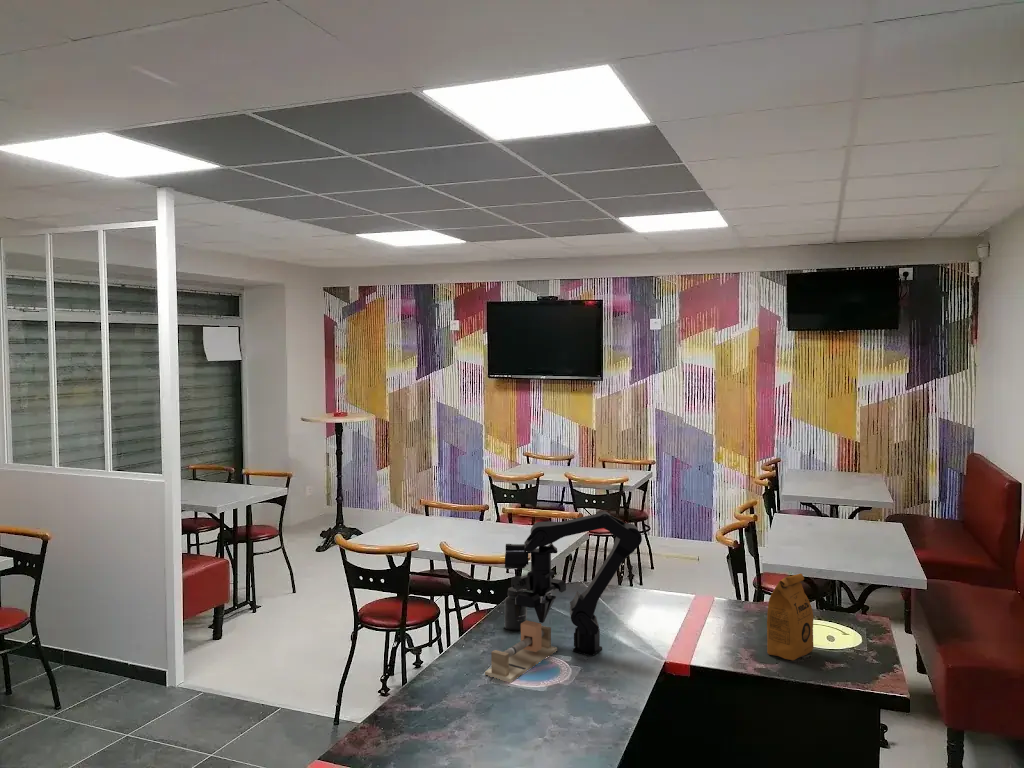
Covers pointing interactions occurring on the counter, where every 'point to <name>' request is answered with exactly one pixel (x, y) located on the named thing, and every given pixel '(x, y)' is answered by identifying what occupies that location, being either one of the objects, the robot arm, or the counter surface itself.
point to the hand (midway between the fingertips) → (541, 622)
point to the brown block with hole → (532, 634)
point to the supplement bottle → (514, 611)
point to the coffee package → (789, 620)
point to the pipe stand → (519, 657)
